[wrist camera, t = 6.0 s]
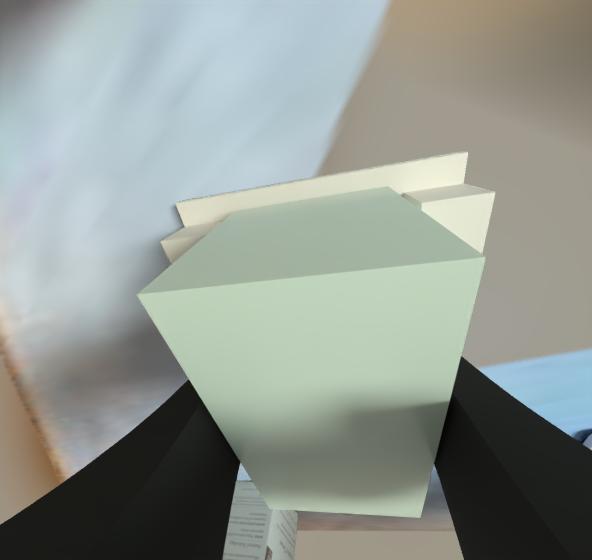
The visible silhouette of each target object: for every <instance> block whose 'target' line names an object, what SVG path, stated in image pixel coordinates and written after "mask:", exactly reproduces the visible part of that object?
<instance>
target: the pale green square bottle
mask: <svg viewBox="0 0 592 560" xmlns="http://www.w3.org/2000/svg"><path fill="white" fill-rule="evenodd" d="M485 259H486V257H485V256H484V255H482V254H481V253H480V252H478V251H477V250H476V249H474V248H473V247H471V246H470V245H469V244H467V243H466V242H465V241H463V240H462V239H460V238H459V237H458V236H456V235H455V234H454V233H452V232H451V231H449V230H448V229H447V228H445V227H444V226H442V225H441V224H440V223H438V222H437V221H436V220H434V219H433V218H431V217H430V216H429V215H427V214H426V213H424V212H423V211H422V210H420V209H419V208H418V207H416V206H415V205H413V204H412V203H411V202H409V201H408V200H407V199H405V198H404V197H402V196H401V195H400V194H398V193H397V192H395V191H394V190H393V189H391V188H390V187H389V186H385V187H379V188H373V189H367V190H361V191H355V192H348V193H342V194H336V195H330V196H324V197H318V198H311V199H305V200H299V201H293V202H287V203H281V204H274V205H268V206H262V207H256V208H250V209H244V210H237V211H234V212H233V213H231V214H230V215H229V216H228V217H227V218H226V219H224V220H223V221H222V222H221V223H220V224H218V225H217V226H216V227H215V228H214V229H213V230H211V231H210V232H209V233H208V234H207V235H206V236H204V237H203V238H202V239H201V240H200V241H199V242H197V243H196V244H195V245H194V246H193V247H192V248H190V249H189V250H188V251H187V252H186V253H185V254H183V255H182V256H181V257H180V258H179V259H178V260H176V261H175V262H174V263H173V264H172V265H171V266H169V267H168V268H167V269H166V270H165V271H164V272H162V273H161V274H160V275H159V276H158V277H157V278H155V279H154V280H153V281H152V282H151V283H149V284H148V285H147V286H146V287H145V288H144V289H142V290H141V291H140V292H139V293H138V294H137V296H138V298H139V299H140V301H141V303H142V304H143V306H144V308H145V309H146V311H147V312H148V314H149V316H150V317H151V319H152V320H153V322H154V324H155V325H156V327H157V328H158V330H159V332H160V333H161V335H162V337H163V338H164V340H165V341H166V343H167V345H168V346H169V348H170V349H171V351H172V353H173V354H174V356H175V357H176V359H177V361H178V362H179V364H180V365H181V367H182V369H183V370H184V372H185V374H186V375H187V377H188V378H189V380H190V382H191V383H192V385H193V386H194V388H195V390H196V391H197V393H198V394H199V396H200V398H201V399H202V401H203V403H204V404H205V406H206V407H207V409H208V411H209V412H210V414H211V415H212V417H213V419H214V420H215V422H216V423H217V425H218V427H219V428H220V430H221V431H222V433H223V435H224V436H225V438H226V440H227V441H228V443H229V444H230V446H231V448H232V449H233V451H234V452H235V454H236V456H237V457H238V459H239V460H240V462H241V464H242V465H243V467H244V469H245V470H246V472H247V473H248V475H249V477H250V478H251V480H252V481H253V483H254V485H255V486H256V488H257V489H258V491H259V493H260V494H261V496H262V497H263V499H264V501H265V502H266V504H267V506H268V507H269V509H280V510H297V511H314V512H331V513H340V514H343V515H353V514H366V515H383V516H400V517H417V518H420V517H421V513H422V509H423V505H424V501H425V497H426V493H427V489H428V485H429V481H430V477H431V473H432V469H433V465H434V461H435V457H436V453H437V449H438V446H439V442H440V438H441V434H442V430H443V426H444V422H445V418H446V414H447V410H448V406H449V402H450V398H451V394H452V390H453V386H454V382H455V378H456V374H457V370H458V366H459V362H460V358H461V354H462V350H463V346H464V342H465V338H466V334H467V330H468V326H469V322H470V318H471V314H472V310H473V306H474V302H475V299H476V295H477V291H478V286H479V283H480V279H481V275H482V270H483V267H484V263H485Z"/></svg>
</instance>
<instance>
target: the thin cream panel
mask: <svg viewBox="0 0 592 560" xmlns="http://www.w3.org/2000/svg"><path fill="white" fill-rule="evenodd" d="M467 157H468V152H454V153H449V154H443V155H437V156H432V157H426V158H420V159H415V160H409V161H404V162H398V163H393V164H386V165H381V166H375V167H369V168H364V169H358V170H353V171H347V172H342V173H336V174H330V175H324V176H319V177H313V178H307V179H302V180H296V181H290V182H285V183H279V184H273V185H268V186H262V187H256V188H251V189H245V190H239V191H234V192H228V193H222V194H217V195H211V196H205V197H200V198H194V199H188V200H183V201H180V202H178V203H175V204H176V207H177V209H178V212H179V214H180V216H181V219H182V221H183V224H184V226H185V227H184V228H182V229H180V230H179V231H177V232H175V233H174V234H172V235H170V236H169V237H167V238H165V239H163V240H162V241H160V242H161V244H162V246H163V249H164V251H165V253H166V255H167V257H168V259H169V261H170V263H171V265H172V264H173V263H174V262H175V261H176V260H178V259H179V258H180V257H181V256H182V255H183V254H185V253H186V252H187V251H188V250H189V249H190V248H192V247H193V246H194V245H195V244H196V243H197V242H199V241H200V240H201V239H202V238H203V237H204V236H206V235H207V234H208V233H209V232H210V231H211V230H213V229H214V228H215V227H216V226H217V225H218V224H220V223H221V222H222V221H223V220H224V219H226V218H227V217H228V216H229V215H230V214H231V213H233V212H234V211H237V210H244V209H250V208H256V207H262V206H268V205H274V204H281V203H287V202H293V201H299V200H305V199H311V198H318V197H324V196H330V195H336V194H342V193H348V192H355V191H361V190H367V189H373V188H379V187H385V186H389V187H390V188H391V189H393V190H394V191H395V192H397V193H398V194H400V195H401V196H402V197H404V198H405V199H407V200H408V201H409V202H411V203H412V204H413V205H415V206H416V207H418V208H419V209H420V210H422V211H423V212H424V213H426V214H427V215H429V216H430V217H431V218H433V219H434V220H436V221H437V222H438V223H440V224H441V225H442V226H444V227H445V228H447V229H448V230H449V231H451V232H452V233H454V234H455V235H456V236H458V237H459V238H460V239H462V240H463V241H465V242H466V243H467V244H469V245H470V246H471V247H473V248H474V249H476V250H477V251H478V252H480V253H481V254H482V251H483V247H484V242H485V238H486V233H487V228H488V224H489V220H490V215H491V211H492V206H493V201H494V197H495V192H494V191H490V190H486V189H483V188H479V187H475V186H471V185H467V184H464V183H463V182H464V176H465V169H466V163H467Z"/></svg>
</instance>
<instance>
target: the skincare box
mask: <svg viewBox="0 0 592 560" xmlns="http://www.w3.org/2000/svg"><path fill="white" fill-rule="evenodd" d="M297 524H298V514H297V513H296V511H295V510H280V509H269V507H268V506H267V504H266V502H265V501H264V499H263V497H262V496H261V494H260V493H259V491H258V489H257V488H256V486H255V485H254V483H253V482H250V481H236V485H235V490H234V495H233V501H232V506H231V512H230V518H229V523H228V529H227V535H226V541H225V547H224V553H223V560H294V555H295V545H296V534H297Z"/></svg>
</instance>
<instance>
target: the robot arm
mask: <svg viewBox="0 0 592 560" xmlns="http://www.w3.org/2000/svg"><path fill="white" fill-rule="evenodd" d="M434 465H435V467H436V470H437V473H438V476H439V479H440V482H441V485H442V488H443V491H444V495H445V498H446V501H447V504H448V508H449V511H450V514H451V517H452V520H453V524H454V527H455V531H456V534H457V537H458V540H459V544H460V547H461V550H462V554H463V557H464V560H592V434H591V435H589V436H588V438H587V439H586V440H585V442H584V443H583V444H582V443H580V442H578V441H577V440H575V439H574V438H572V437H571V436H569V435H568V434H566V433H565V432H563V431H562V430H560V429H559V428H557V427H556V426H554V425H553V424H551V423H550V422H548V421H547V420H546V419H544V418H543V417H541V416H540V415H538V414H537V413H535V412H534V411H532V410H531V409H529V408H528V407H527V406H525V405H524V404H522V403H521V402H520V401H518V400H517V399H515V398H514V397H513V396H511V395H510V394H509V393H507V392H506V391H505V390H503V389H502V388H501V387H499V386H498V385H497V384H496V383H494V382H493V381H492V380H490V379H489V378H488V377H486V376H485V375H484V374H483V373H481V372H480V371H479V370H478V369H476V368H475V367H474V366H473V365H472V364H470V363H469V362H468V361H467V360H466V359H464V358H463V357H462V356H461V358H460V362H459V366H458V370H457V374H456V378H455V382H454V386H453V390H452V394H451V398H450V402H449V406H448V410H447V414H446V418H445V422H444V426H443V430H442V434H441V438H440V442H439V446H438V449H437V453H436V457H435V461H434ZM239 466H240V460H239V459H238V457H237V456H236V454H235V452H234V451H233V449H232V448H231V446H230V444H229V443H228V441H227V440H226V438H225V436H224V435H223V433H222V431H221V430H220V428H219V427H218V425H217V423H216V422H215V420H214V419H213V417H212V415H211V414H210V412H209V411H208V409H207V407H206V406H205V404H204V403H203V401H202V399H201V398H200V396H199V394H198V393H197V391H196V390H195V388H194V386H193V385H192V383H191V382H190V380H188V381H187V382H186V383H184V384H183V385H182V386H181V387H180V388H179V389H178V390H177V391H176V392H175V393H174V394H173V395H172V396H171V397H170V398H169V399H168V400H167V401H166V402H165V403H163V404H162V405H161V406H160V407H159V408H158V409H157V410H156V411H154V412H153V413H152V414H151V415H150V416H149V417H147V418H146V419H145V420H144V421H143V422H142V423H140V424H139V425H138V426H137V427H136V428H134V429H133V430H132V431H131V432H130V433H128V434H127V435H126V436H125V437H123V438H122V439H121V440H119V441H118V442H117V443H115V444H114V445H113V446H112V447H110V448H109V449H108V450H106V451H105V452H104V453H102V454H101V455H100V456H99V457H97V458H96V459H95V460H93V461H92V462H91V463H89V464H88V465H87V466H85V467H84V468H83V469H81V470H80V471H78V472H77V473H76V474H74V475H73V476H71V477H70V478H69V479H67V480H66V481H65V482H63V483H62V484H60V485H59V486H58V487H56V488H55V489H53V490H52V491H50V492H49V493H47V494H46V495H44V496H43V497H41V498H40V499H39V500H37V501H36V502H34V503H33V504H31V505H30V506H29V507H27V508H25V509H24V510H22V511H21V512H19V513H18V514H16V515H15V516H13V517H12V518H10V519H9V520H7V521H5V522H4V523H2V524H1V525H0V560H223V553H224V547H225V541H226V535H227V529H228V523H229V518H230V512H231V506H232V501H233V495H234V490H235V485H236V480H237V474H238V470H239Z"/></svg>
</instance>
